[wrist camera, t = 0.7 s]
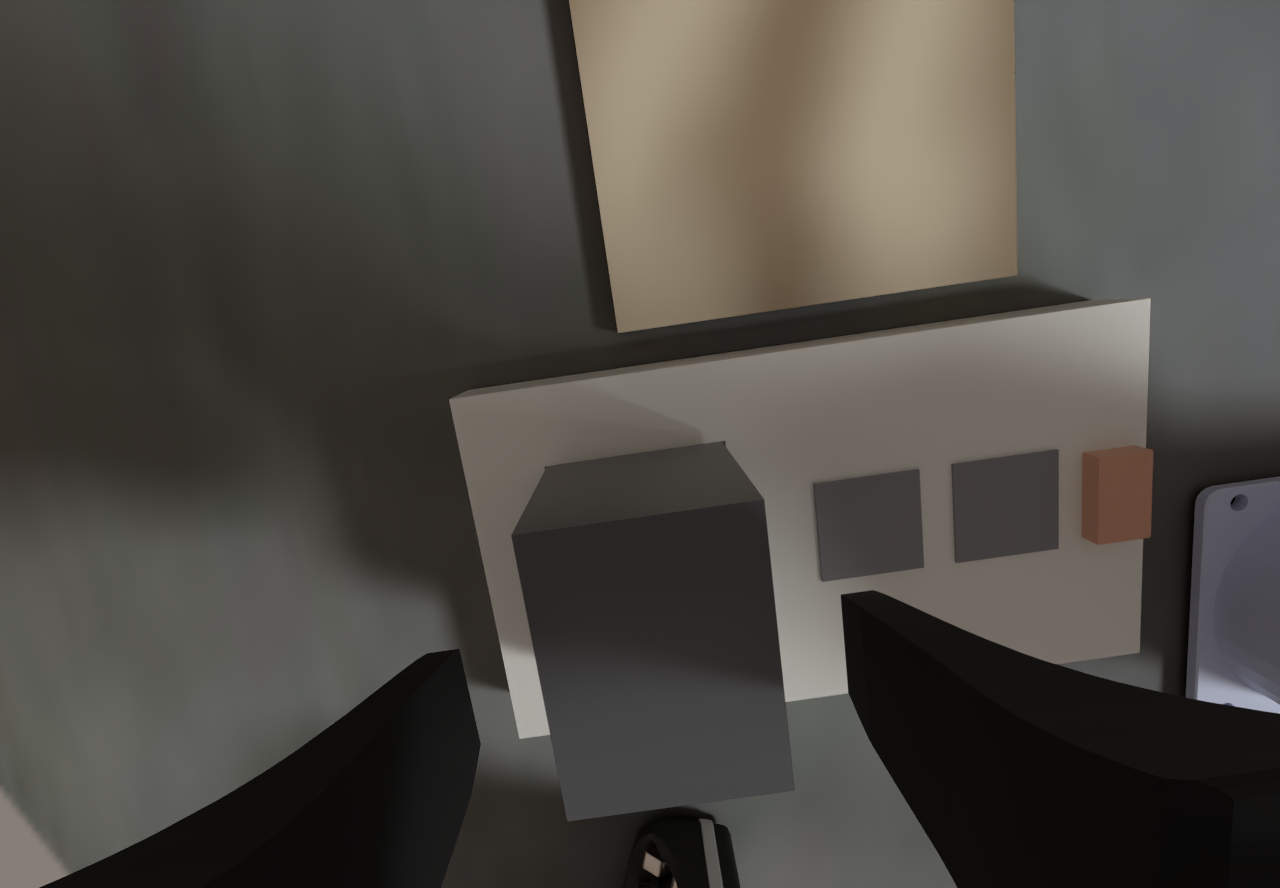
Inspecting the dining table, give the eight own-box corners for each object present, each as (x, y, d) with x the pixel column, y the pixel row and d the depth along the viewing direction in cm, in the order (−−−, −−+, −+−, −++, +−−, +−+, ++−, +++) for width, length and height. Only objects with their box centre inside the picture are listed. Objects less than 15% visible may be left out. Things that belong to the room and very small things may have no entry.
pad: (996, -184, 15) (1011, -204, 15) (1004, 276, 17) (1017, 275, 17) (552, -116, 15) (549, -134, 15) (618, 332, 18) (618, 333, 17)
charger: (709, 424, 18) (764, 499, 11) (731, 610, 19) (794, 790, 12) (557, 445, 18) (511, 535, 11) (589, 630, 20) (567, 821, 12)
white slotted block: (1092, 299, 18) (1170, 297, 15) (1088, 619, 20) (1157, 664, 17) (468, 389, 18) (442, 402, 15) (530, 697, 20) (516, 753, 17)
